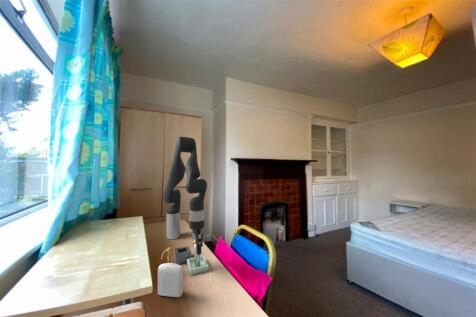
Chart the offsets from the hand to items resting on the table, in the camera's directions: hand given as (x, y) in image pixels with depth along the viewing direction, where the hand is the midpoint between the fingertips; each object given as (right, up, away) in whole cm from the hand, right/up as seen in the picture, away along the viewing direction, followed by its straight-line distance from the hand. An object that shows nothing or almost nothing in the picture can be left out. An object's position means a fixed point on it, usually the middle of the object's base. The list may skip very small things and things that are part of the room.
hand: (197, 250), depth 100 cm
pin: (0, -8, 0) cm, 8 cm away
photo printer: (-7, -9, -19) cm, 22 cm away
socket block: (-10, -9, +8) cm, 15 cm away
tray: (0, -9, 0) cm, 9 cm away
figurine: (-12, -9, -4) cm, 16 cm away
